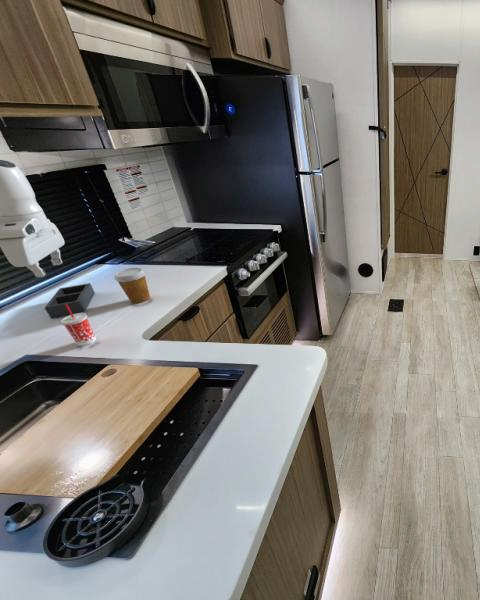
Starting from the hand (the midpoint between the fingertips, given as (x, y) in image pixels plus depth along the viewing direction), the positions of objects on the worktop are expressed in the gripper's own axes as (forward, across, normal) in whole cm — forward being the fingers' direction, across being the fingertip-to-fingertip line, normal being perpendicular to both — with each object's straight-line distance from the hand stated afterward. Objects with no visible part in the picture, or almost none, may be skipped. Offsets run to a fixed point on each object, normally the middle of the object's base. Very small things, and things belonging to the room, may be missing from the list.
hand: (50, 270), depth 97 cm
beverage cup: (+24, +3, +1) cm, 24 cm away
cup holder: (+24, -29, -14) cm, 40 cm away
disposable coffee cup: (+24, -24, +9) cm, 36 cm away
